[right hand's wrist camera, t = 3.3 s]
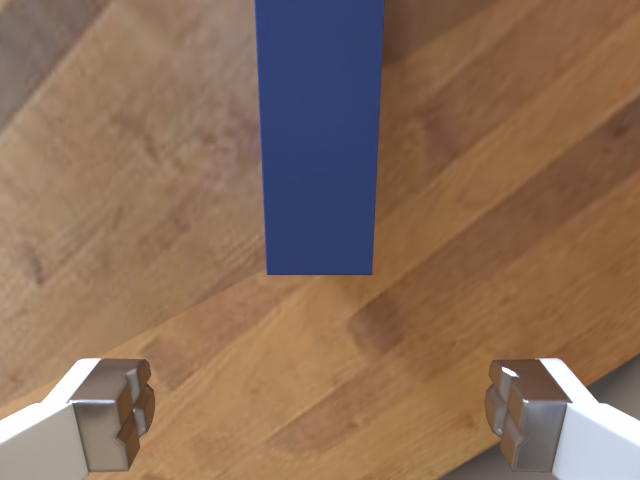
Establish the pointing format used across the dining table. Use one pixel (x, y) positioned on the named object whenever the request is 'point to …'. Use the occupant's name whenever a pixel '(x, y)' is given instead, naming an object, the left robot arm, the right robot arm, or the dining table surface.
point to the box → (319, 132)
